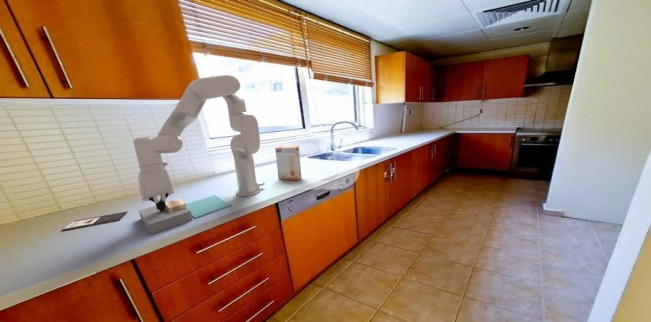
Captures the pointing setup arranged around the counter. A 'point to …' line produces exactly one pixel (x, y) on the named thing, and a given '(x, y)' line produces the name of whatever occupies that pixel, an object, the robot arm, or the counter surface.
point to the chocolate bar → (94, 221)
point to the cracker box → (288, 162)
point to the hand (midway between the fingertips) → (162, 210)
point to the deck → (163, 218)
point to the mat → (206, 206)
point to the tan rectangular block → (175, 205)
